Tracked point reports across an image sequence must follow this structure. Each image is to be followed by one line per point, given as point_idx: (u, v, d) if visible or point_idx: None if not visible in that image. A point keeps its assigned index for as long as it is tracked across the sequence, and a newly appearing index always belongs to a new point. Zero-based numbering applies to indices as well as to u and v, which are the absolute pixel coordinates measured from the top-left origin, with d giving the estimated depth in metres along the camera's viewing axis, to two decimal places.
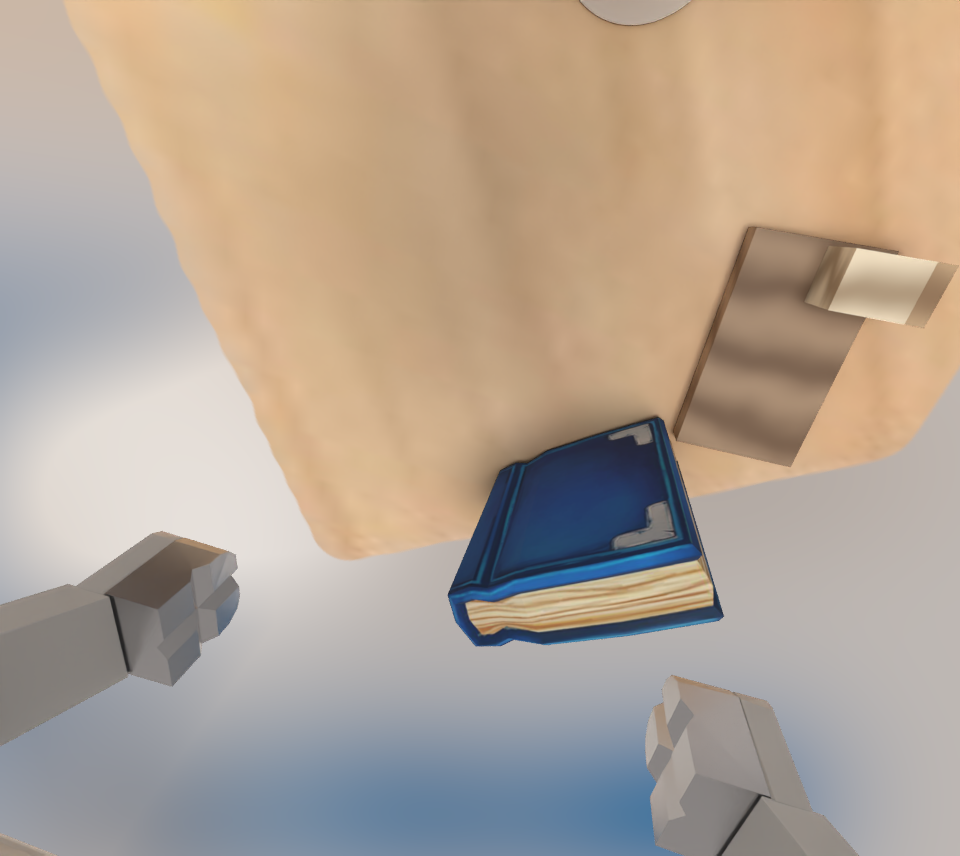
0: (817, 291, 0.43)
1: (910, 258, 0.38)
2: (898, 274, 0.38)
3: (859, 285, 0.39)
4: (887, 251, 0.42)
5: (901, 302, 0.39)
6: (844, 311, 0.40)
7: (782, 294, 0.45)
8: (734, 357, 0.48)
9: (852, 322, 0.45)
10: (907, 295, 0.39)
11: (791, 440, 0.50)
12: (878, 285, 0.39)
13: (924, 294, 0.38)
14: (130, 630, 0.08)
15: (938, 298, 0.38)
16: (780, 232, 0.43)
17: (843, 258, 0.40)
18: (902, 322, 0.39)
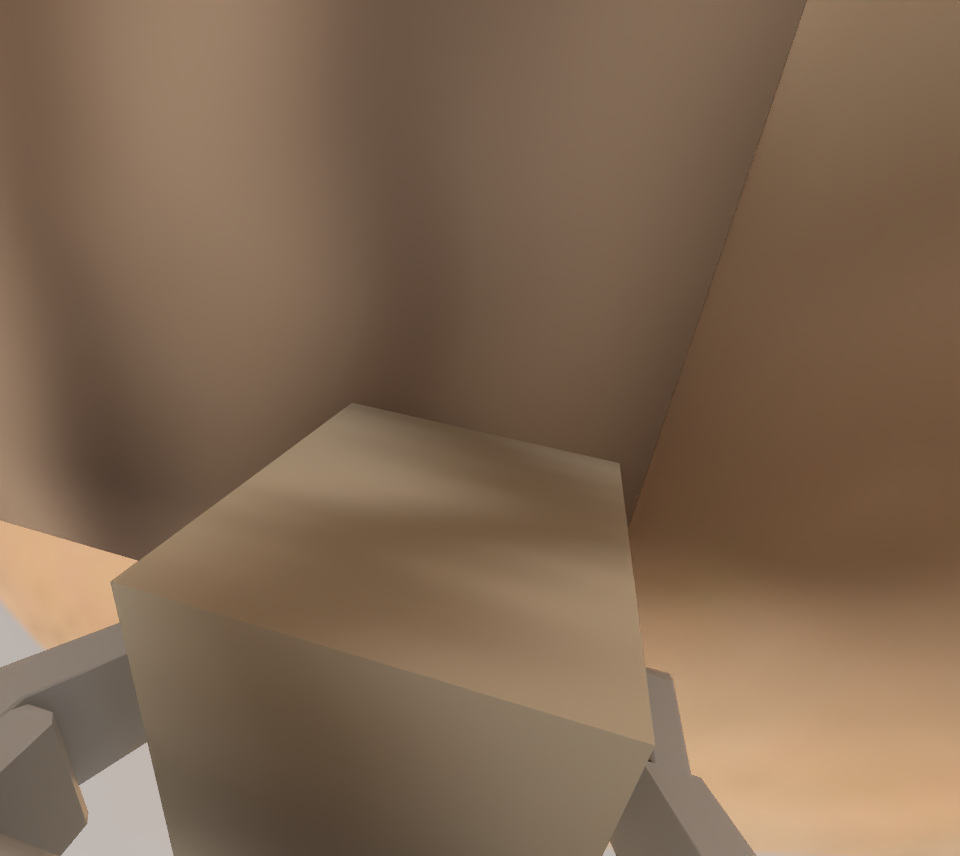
0: (371, 454, 0.07)
1: None
2: None
3: (340, 751, 0.05)
4: None
5: None
6: (143, 677, 0.05)
7: (369, 294, 0.08)
8: (12, 106, 0.08)
9: None
10: None
11: None
12: (354, 833, 0.05)
13: None
14: None
15: None
16: (733, 193, 0.06)
17: (554, 593, 0.05)
18: None
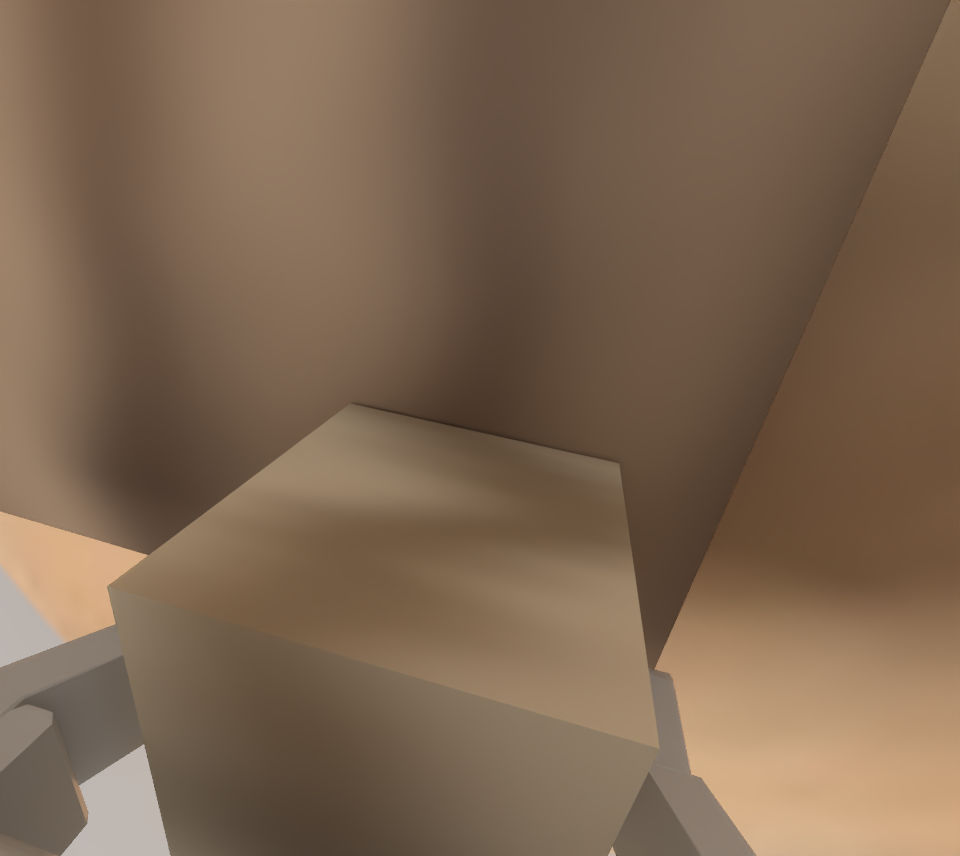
0: (370, 455, 0.07)
1: None
2: None
3: (341, 757, 0.05)
4: None
5: None
6: (141, 682, 0.05)
7: (454, 300, 0.08)
8: (87, 105, 0.08)
9: None
10: None
11: None
12: (355, 839, 0.05)
13: None
14: None
15: None
16: (853, 200, 0.06)
17: (556, 596, 0.05)
18: None
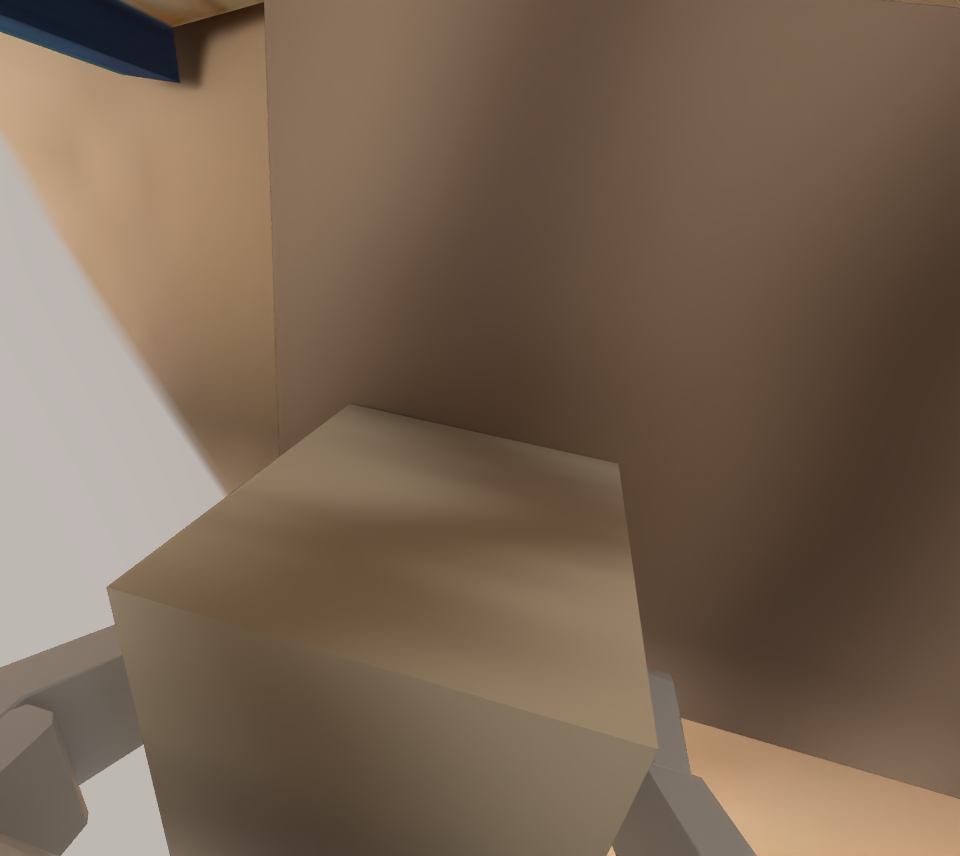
0: (369, 456, 0.07)
1: None
2: None
3: (339, 758, 0.05)
4: None
5: None
6: (140, 683, 0.05)
7: None
8: None
9: None
10: None
11: None
12: (354, 838, 0.05)
13: None
14: None
15: None
16: None
17: (555, 596, 0.05)
18: None
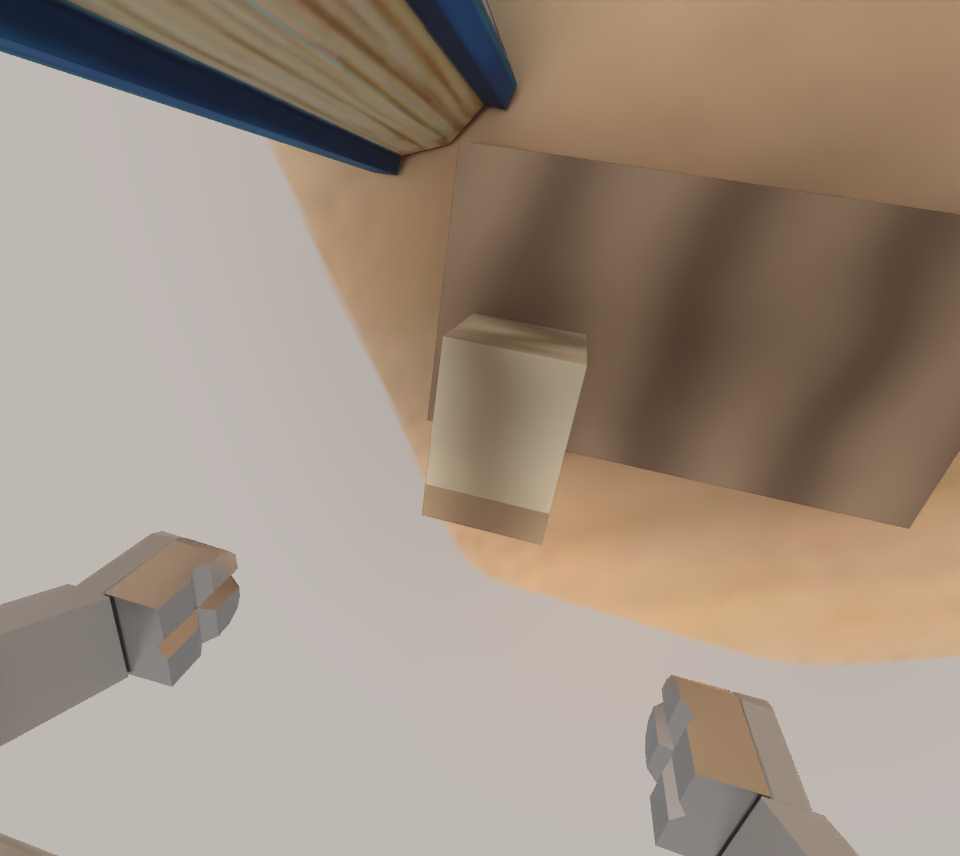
0: (491, 324, 0.19)
1: (558, 469, 0.17)
2: (525, 455, 0.18)
3: (502, 388, 0.17)
4: (915, 511, 0.20)
5: (468, 471, 0.18)
6: (442, 371, 0.17)
7: (865, 333, 0.18)
8: (705, 249, 0.18)
9: (761, 477, 0.21)
10: (482, 478, 0.18)
11: None
12: (501, 424, 0.17)
13: (485, 505, 0.19)
14: (130, 630, 0.08)
15: (478, 526, 0.19)
16: None
17: (562, 350, 0.17)
18: (429, 480, 0.19)
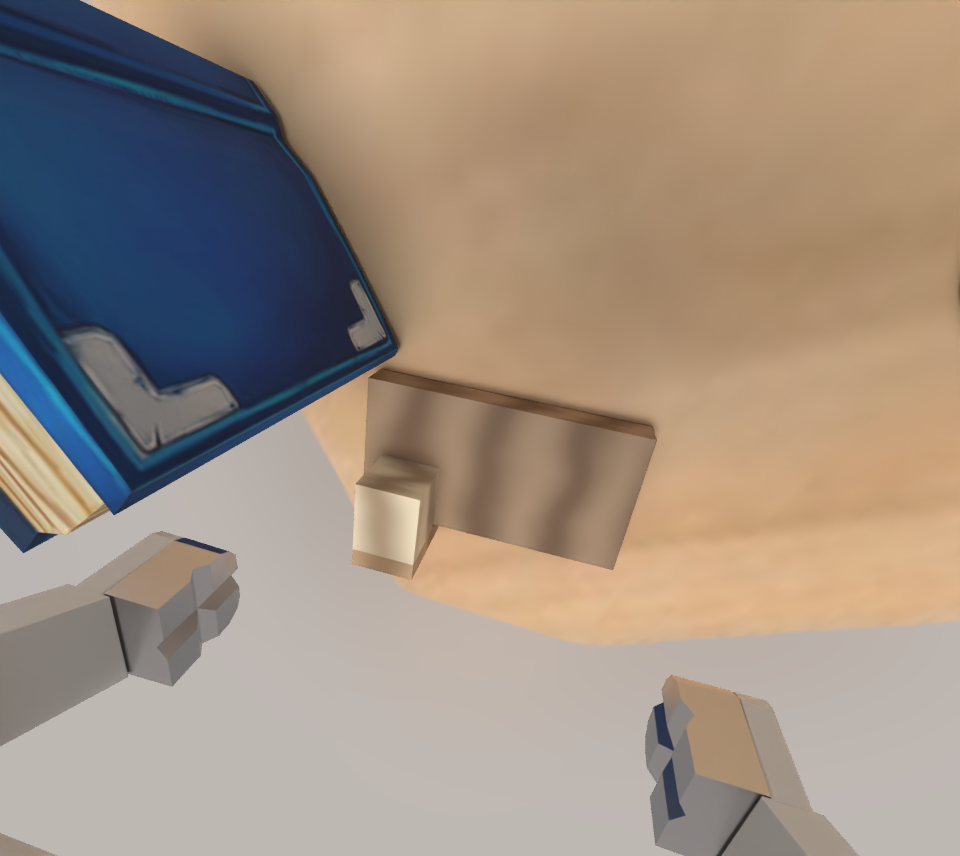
0: (387, 466, 0.38)
1: (414, 544, 0.36)
2: (398, 537, 0.36)
3: (384, 507, 0.35)
4: (613, 561, 0.39)
5: (372, 543, 0.37)
6: (356, 498, 0.35)
7: (570, 475, 0.36)
8: (490, 433, 0.36)
9: (537, 542, 0.39)
10: (380, 547, 0.37)
11: None
12: (385, 523, 0.36)
13: (382, 560, 0.37)
14: (130, 630, 0.08)
15: (380, 570, 0.38)
16: (646, 465, 0.35)
17: (414, 487, 0.36)
18: (354, 547, 0.37)
